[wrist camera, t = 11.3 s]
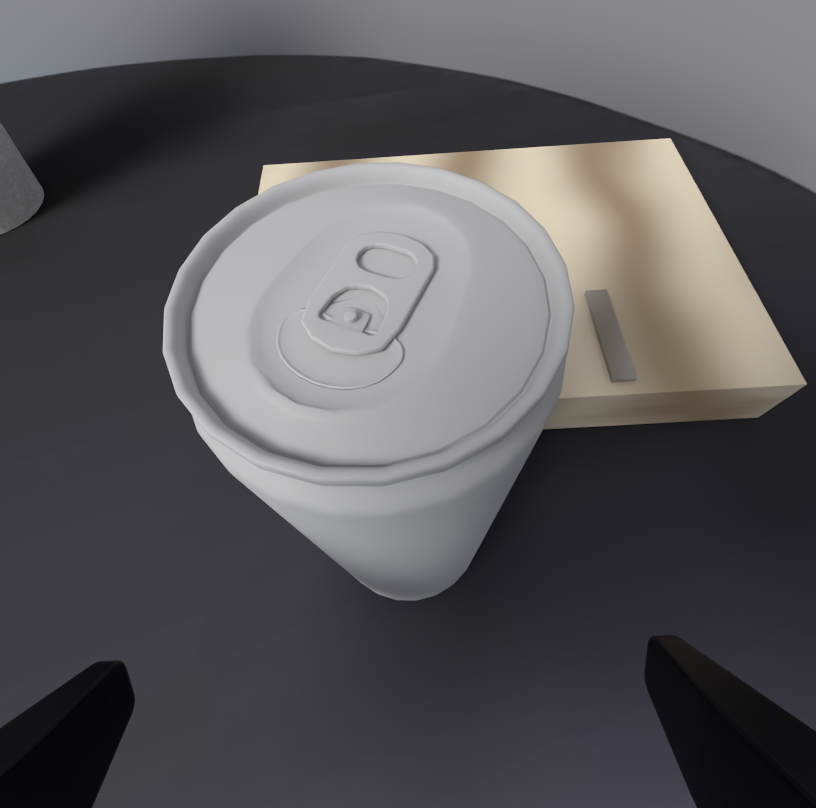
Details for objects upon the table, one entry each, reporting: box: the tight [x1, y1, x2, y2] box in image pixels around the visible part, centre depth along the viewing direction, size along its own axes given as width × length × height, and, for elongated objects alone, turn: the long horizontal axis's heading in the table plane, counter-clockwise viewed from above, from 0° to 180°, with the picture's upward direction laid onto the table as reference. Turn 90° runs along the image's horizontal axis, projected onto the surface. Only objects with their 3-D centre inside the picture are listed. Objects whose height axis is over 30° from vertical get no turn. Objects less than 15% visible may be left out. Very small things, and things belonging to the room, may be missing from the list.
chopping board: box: [258, 138, 807, 429], centre depth 19 cm, size 20×14×3 cm
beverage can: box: [163, 162, 575, 600], centre depth 10 cm, size 5×5×12 cm
